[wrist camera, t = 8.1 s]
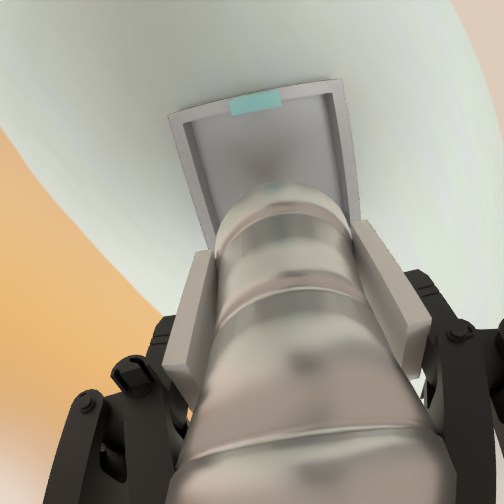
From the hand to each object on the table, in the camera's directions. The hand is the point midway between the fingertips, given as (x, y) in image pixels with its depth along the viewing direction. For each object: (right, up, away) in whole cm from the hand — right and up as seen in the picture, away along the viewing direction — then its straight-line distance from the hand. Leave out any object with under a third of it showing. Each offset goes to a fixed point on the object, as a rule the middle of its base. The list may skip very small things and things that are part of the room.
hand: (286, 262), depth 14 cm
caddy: (0, +9, +15) cm, 17 cm away
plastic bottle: (0, +2, +4) cm, 4 cm away
